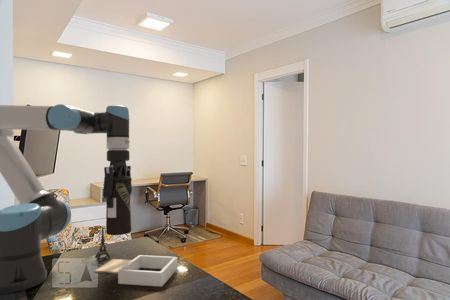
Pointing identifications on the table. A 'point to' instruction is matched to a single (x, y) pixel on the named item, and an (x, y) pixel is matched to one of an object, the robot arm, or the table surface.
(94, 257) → the eiffel tower figurine
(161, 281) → the frame
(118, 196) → the container
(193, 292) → the table surface
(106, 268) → the cork mat
